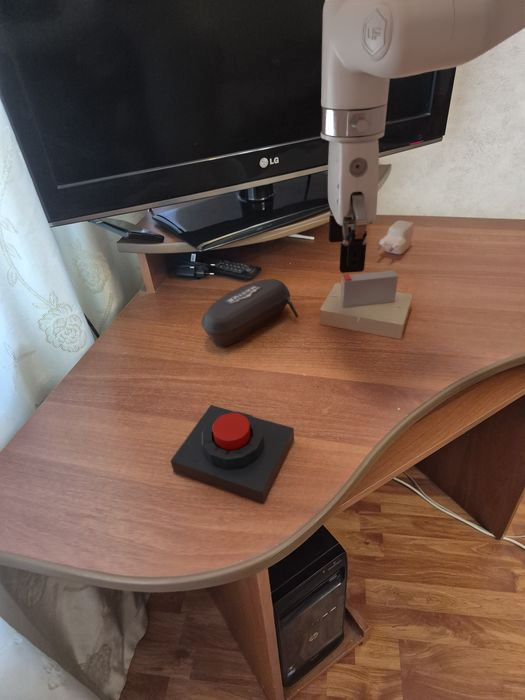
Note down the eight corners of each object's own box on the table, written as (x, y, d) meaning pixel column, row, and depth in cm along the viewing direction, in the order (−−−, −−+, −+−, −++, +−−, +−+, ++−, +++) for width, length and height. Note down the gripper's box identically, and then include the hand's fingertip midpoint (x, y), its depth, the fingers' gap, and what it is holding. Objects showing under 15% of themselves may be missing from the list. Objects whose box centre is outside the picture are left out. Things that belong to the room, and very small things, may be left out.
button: (256, 428, 54) (255, 418, 52) (240, 455, 50) (239, 445, 49) (224, 418, 55) (223, 409, 54) (207, 444, 52) (205, 434, 51)
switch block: (294, 439, 56) (293, 418, 54) (263, 503, 49) (261, 482, 47) (212, 415, 61) (208, 394, 58) (173, 472, 54) (167, 450, 51)
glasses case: (261, 291, 85) (269, 261, 79) (299, 326, 81) (311, 297, 75) (186, 332, 75) (190, 301, 69) (226, 373, 72) (233, 344, 66)
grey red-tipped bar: (390, 295, 77) (394, 268, 74) (394, 302, 75) (398, 274, 72) (339, 300, 77) (341, 274, 73) (343, 307, 75) (344, 280, 72)
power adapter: (392, 266, 92) (396, 240, 88) (371, 261, 94) (373, 235, 90) (413, 247, 98) (417, 221, 95) (393, 242, 101) (396, 217, 97)
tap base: (412, 303, 80) (414, 288, 78) (399, 345, 71) (401, 329, 69) (337, 292, 85) (338, 277, 83) (316, 329, 76) (316, 313, 74)
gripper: (405, 135, 45) (386, 283, 55) (368, 107, 59) (359, 229, 69) (332, 141, 45) (327, 287, 55) (312, 111, 59) (311, 233, 69)
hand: (345, 255), depth 62 cm, fingers open, 9 cm apart
